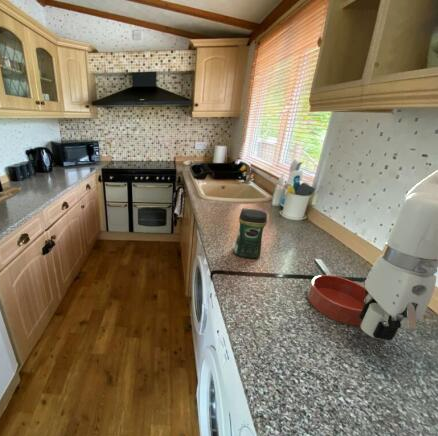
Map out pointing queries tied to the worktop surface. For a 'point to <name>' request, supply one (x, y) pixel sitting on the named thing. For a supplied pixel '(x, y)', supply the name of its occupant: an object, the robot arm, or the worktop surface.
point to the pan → (337, 298)
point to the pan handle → (322, 267)
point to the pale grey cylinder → (373, 318)
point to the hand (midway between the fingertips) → (374, 327)
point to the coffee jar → (250, 233)
